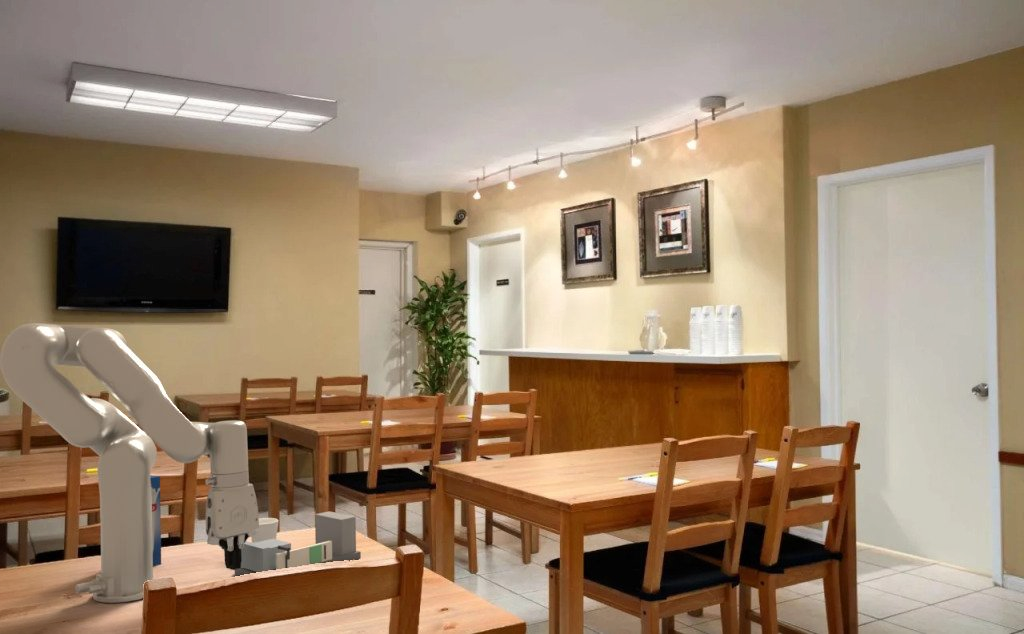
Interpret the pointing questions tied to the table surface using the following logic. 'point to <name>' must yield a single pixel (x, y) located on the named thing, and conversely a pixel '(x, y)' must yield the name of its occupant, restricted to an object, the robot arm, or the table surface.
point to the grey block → (263, 554)
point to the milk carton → (156, 519)
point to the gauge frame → (322, 543)
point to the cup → (266, 530)
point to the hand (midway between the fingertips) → (233, 567)
